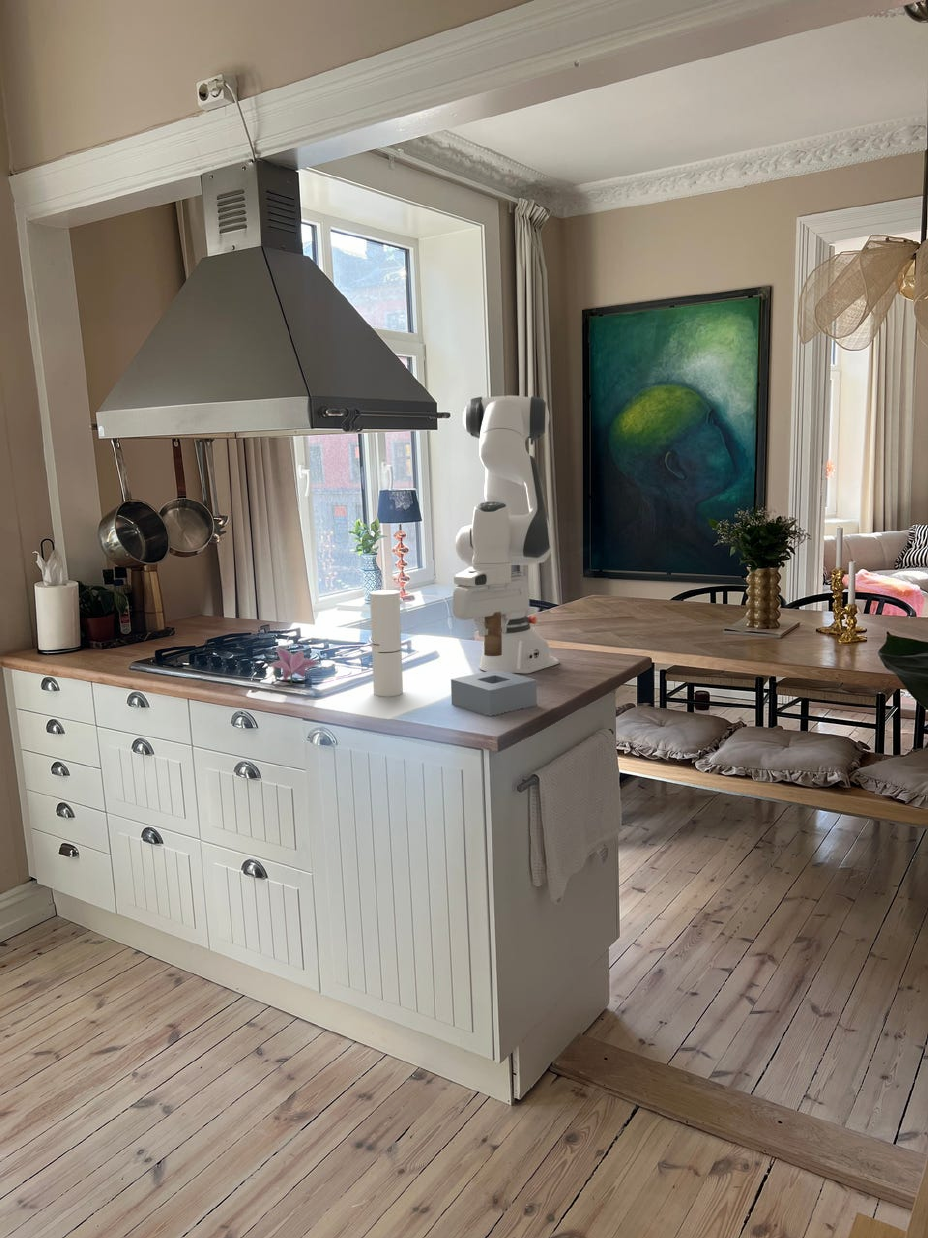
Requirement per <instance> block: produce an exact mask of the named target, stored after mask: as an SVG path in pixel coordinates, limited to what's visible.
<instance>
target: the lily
mask: <svg viewBox="0 0 928 1238" xmlns="http://www.w3.org/2000/svg"><path fill="white" fill-rule="evenodd" d="M275 650H276V652H277V655H278V657H279V660H277V661H274V662H271V663H269V666H270V667H274V668H278V669H281V670H282V671H281V672H282V678H283V679H284V678H285V679H288V678H290V686H291V685H293V680H292V679H293V675H296V674H297V676H298V675H299V676H301V677H302V678H304V676H305V673H306V671H307V669H309V668H312V667H313V668H314V667H316V666H318V665H321V662H320V661H318V660H316V659H312V658H308V657H307V658H306V657H304V656H305V654H304V650H297V652H295V653H292V652H291V651H289V650H287V649H285V648H282V647H280V646H276V647H275Z"/></svg>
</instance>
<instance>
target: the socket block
mask: <svg viewBox="0 0 928 1238" xmlns="http://www.w3.org/2000/svg"><path fill="white" fill-rule="evenodd" d="M450 687H451V688H450V690H451V692H450V693H451V695H450V696H451V705H453V706H456V707H459V708H461V709H462V708H463V709H465V708H466V709H465V710H468V709H469V710H468V711H471V710H473V711H472V712H474V711H476V712H475V713H477V712H479V713H478V714H480V713H483V714H486V715H489V716H491V717H493V716H492V715H495V716H497V715H496V714H499V715H502V714H501V713H503V714H505V713H504V712H507V713H509V712H508V711H511V712H514V711H513V710H515V711H518V710H517V709H519V710H522V709H521V708H523V709H526V708H530V707H535V706H537V705H538V703H537V702H538V700H537V698H538V697H537V696H538V695H537V694H538V693H537V692H538V691H537V690H538V689H537V687H538V685H537V679H535V678H531V677H527V676H525V675H524V676H523V675H520V674H517V673H509V672H505V671H501V670H492V671H483V672H478V673H474V674H470V675H465V676H460V677H455V678H451V679H450ZM483 714H482V715H483ZM486 715H485V716H486ZM489 716H488V717H489Z"/></svg>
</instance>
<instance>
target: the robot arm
mask: <svg viewBox="0 0 928 1238" xmlns="http://www.w3.org/2000/svg"><path fill="white" fill-rule="evenodd" d="M462 422H463V426H464V428H465V431H466V433H467V434H468V435H469V436H470V437H472V438H475V439H479V444H478V445H479V448H478V450H479V451H478V452H479V458H480V459H479V460H480V461H481V463H482V465H483V467H484V468H485V474H484V475H485V477H484V479H485V482H484V499H485V501H484V502H479V503H478V504H476V505H474V507H473V515H472V522H471V524H470V525H467V526H463V527H462V528H461V529H460V530H459V532H458V533H457V535H456V538H455V550H456V553H457V555H458V557H459V559H460V560H461V561H462V562H463V563H465V564H467V566H469V567H468V568H466V569H465V570H463V571H461V572H459V573H457V574H455V575H454V577H453V583H454V584H455V585H456V586H455V588H454V590H453V593H452V594H453V595H452V614H453V616H454V617H455V619H458V620H461V621H462V620H463V621H467V620H473V621H474V623H475V625H476V627H477V629H478V636H479V637H482V638H484V637H485V636H488V628H485V626H484V622H485V617H488V616H493V615H494V613H496V612H501V626H502V655H500V656H486V655H484V640H483V643H482V651H481V657H480V663H479V666H478V669H479V670H482V671H483V672H487V671H492V670H501V671H505V672H509V673H512V674H530V673H533V672H538V671H540V670H543V669H546V668H549V667H552V666H555V665H558V664H559V659H557V658H556V657H553V656H552V655H551V650H550V645H549V643H548V641H547V640H546V639H545V638H544V637H542V636H541V635H539V634H538V633H537V632H535V630H533V629H532V628H531V624H533V625H536V624H537V623H538V617H537V616H533V615H530V616H527V615H526V612H527V611H528V609H529V607H530V595H529V587H528V583H527V582H528V578H527V576H526V574H524V573H523V572H522V571H512V566H531V565H536V564H541V563H545V562H546V560H547V559H548V558H550V555H551V553H552V550H553V534H552V528H551V524H550V521H549V519H548V516H547V513H546V512H547V511H546V501H545V497H544V491H543V484H542V478H541V475H540V469H539V465H538V461H537V459H536V458H535V457H534V456H533V455H532V454H531V455H530V454H529V453H528V452H527V448H526V441H527V440H529V439H530V445H531V446H532V445H534V442H535V441H537V440H539V439H541V438H542V437H543V436H544V434H545V433H546V430H547V428H548V427H549V426H548V425H549V423H550V412H549V408H548V405H547V403H546V401H545V400H544V399H543V398H541V397H539V396H538V397H537V396H533V395H532V396H531V397H530V396H523V395H522V396H521V395H509V394H507V395H498V396H487V397H482V396H479V397H474V398H470V399H469V400H468V402H467V403H466V405H465V407H464V411H463V416H462Z"/></svg>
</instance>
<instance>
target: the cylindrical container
mask: <svg viewBox="0 0 928 1238" xmlns="http://www.w3.org/2000/svg"><path fill="white" fill-rule="evenodd" d="M400 593H401V592H400V590H397V589H380V590H378V589H377V590H372V591H370V592H369V601H370V602H369V603H370V604H369V605H370V607H369V608H370V626H371V629H370V631H371V632H370V633H371V634H370V635H371V652H372V654H371V655H372V676H373V679H372V682H373V694H374V695H375V696H378V697H394V696H395V697H396V696H399V695H402V694H403V693H404V684H403V680H404V679H403V659H402V658H403V657H402V656H403V655H402V654H403V653H402V650H403V649H402V630H401V629H402V628H401V627H402V623H401V597H400V595H401V594H400Z"/></svg>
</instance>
